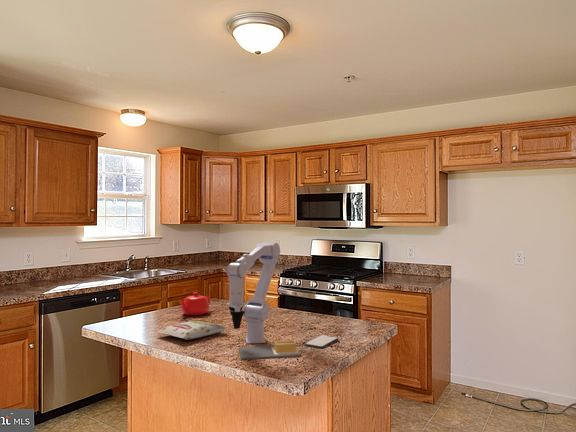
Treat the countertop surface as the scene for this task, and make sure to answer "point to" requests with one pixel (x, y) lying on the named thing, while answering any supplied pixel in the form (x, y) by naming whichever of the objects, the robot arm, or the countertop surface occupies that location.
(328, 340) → the phone case
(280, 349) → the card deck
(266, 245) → the robot arm
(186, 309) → the teapot
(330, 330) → the countertop surface
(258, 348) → the mat
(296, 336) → the countertop surface
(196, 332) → the frozen beans
